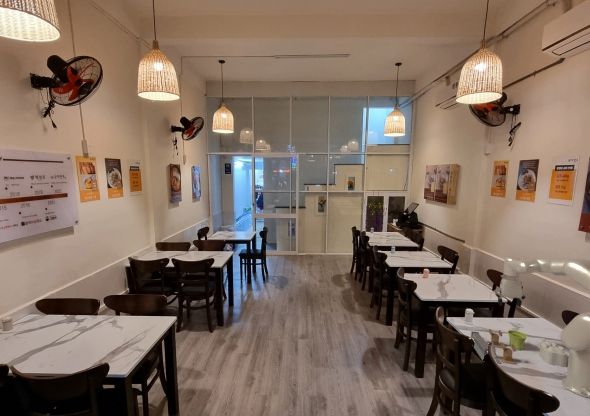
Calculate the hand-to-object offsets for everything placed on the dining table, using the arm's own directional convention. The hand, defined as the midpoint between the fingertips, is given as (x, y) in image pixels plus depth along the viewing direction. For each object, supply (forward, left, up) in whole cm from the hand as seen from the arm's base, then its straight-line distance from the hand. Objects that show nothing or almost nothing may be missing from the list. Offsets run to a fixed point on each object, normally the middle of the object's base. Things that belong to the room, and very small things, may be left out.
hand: (509, 305), depth 167 cm
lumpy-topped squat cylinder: (-4, -21, -28) cm, 35 cm away
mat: (-5, +14, -28) cm, 31 cm away
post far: (+3, +5, -28) cm, 28 cm away
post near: (-13, +5, -28) cm, 31 cm away
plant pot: (+4, -7, -28) cm, 29 cm away
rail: (-2, +14, -27) cm, 30 cm away
